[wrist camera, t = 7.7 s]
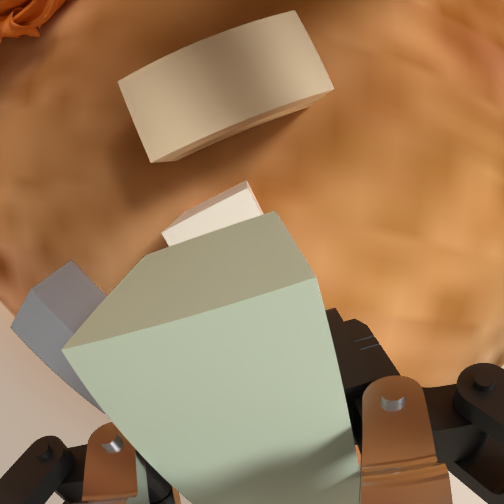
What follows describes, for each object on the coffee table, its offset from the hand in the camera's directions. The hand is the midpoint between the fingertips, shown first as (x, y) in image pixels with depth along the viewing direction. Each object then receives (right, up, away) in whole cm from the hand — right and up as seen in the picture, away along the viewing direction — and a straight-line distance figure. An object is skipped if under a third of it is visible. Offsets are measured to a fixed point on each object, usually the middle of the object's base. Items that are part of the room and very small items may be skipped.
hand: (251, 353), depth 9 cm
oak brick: (-1, +12, +6) cm, 13 cm away
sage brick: (0, 0, 0) cm, 0 cm away
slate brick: (-11, -1, +10) cm, 14 cm away
